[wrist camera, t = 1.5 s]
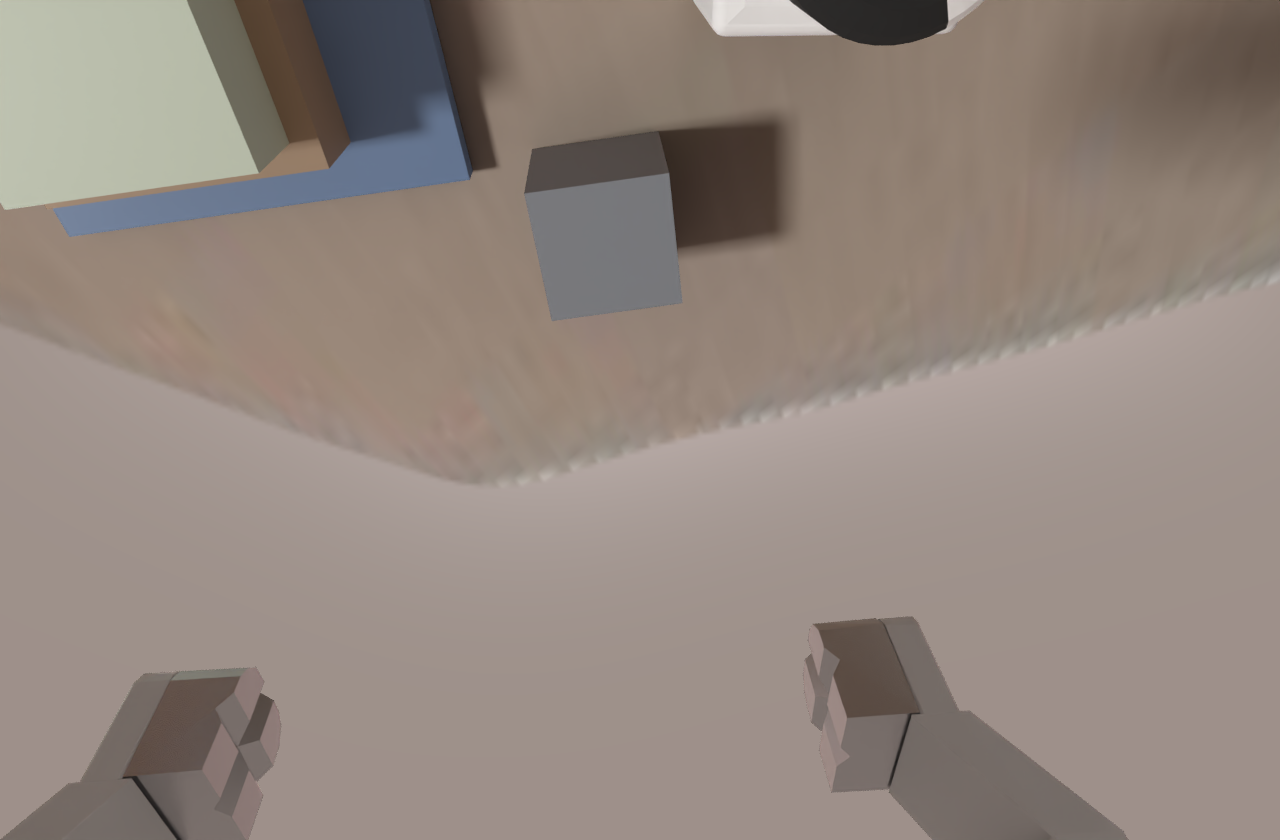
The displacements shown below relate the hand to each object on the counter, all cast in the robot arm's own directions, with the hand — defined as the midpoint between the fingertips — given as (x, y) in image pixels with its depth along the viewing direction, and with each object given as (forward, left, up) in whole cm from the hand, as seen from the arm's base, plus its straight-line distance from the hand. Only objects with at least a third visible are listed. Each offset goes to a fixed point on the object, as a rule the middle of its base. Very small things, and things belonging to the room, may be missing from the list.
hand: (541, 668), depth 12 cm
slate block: (-1, +2, -24) cm, 24 cm away
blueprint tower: (+12, -7, -24) cm, 28 cm away
